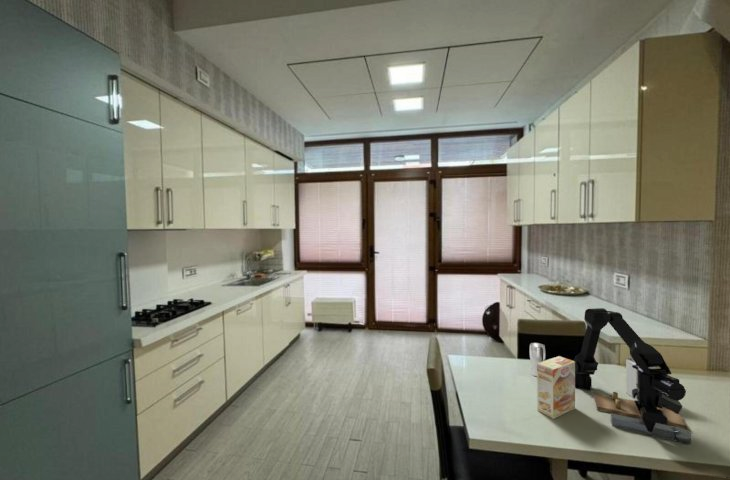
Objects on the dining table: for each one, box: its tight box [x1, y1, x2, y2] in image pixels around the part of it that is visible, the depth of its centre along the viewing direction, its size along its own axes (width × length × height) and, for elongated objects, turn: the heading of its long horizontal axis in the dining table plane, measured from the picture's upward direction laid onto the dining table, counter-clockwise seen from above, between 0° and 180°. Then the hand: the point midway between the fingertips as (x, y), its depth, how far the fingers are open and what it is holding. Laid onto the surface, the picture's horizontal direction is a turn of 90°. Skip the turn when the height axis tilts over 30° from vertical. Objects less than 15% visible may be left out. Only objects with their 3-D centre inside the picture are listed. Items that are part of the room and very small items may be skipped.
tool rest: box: [593, 391, 688, 430], centre depth 124 cm, size 26×12×4 cm, turn 59°
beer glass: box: [529, 342, 546, 378], centre depth 158 cm, size 7×7×15 cm
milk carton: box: [625, 355, 657, 401], centre depth 134 cm, size 7×7×19 cm
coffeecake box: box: [536, 355, 576, 420], centre depth 127 cm, size 15×7×20 cm, turn 117°
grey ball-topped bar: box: [609, 413, 692, 445], centre depth 112 cm, size 21×5×3 cm, turn 59°
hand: (648, 428), depth 112 cm, fingers closed on grey ball-topped bar, 3 cm apart
